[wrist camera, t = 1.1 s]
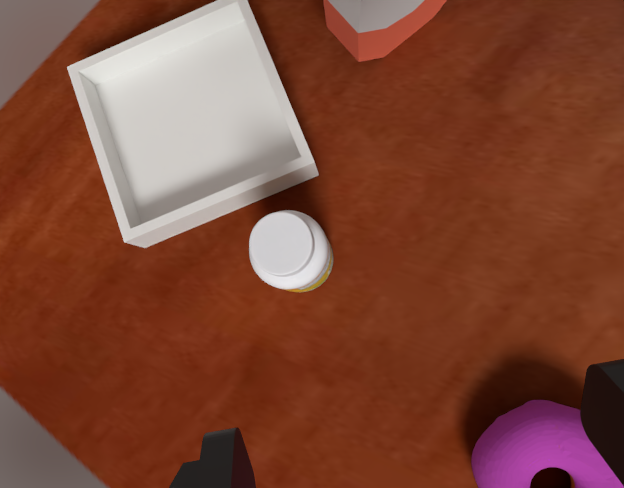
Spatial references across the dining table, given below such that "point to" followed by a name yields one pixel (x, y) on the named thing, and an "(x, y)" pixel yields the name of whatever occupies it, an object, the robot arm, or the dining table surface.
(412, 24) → the french fries container
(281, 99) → the tray
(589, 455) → the donut
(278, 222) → the supplement bottle
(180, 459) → the dining table surface
